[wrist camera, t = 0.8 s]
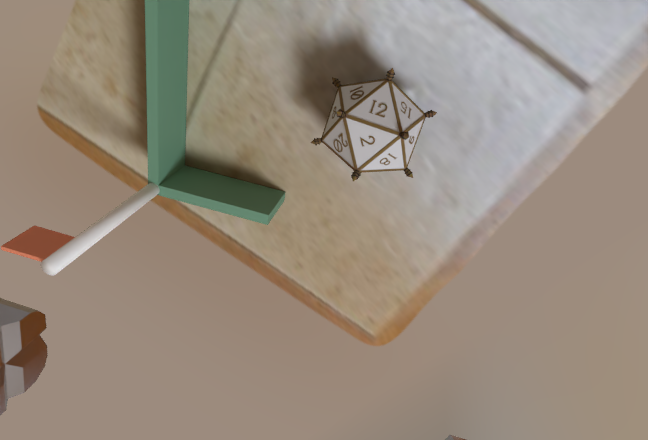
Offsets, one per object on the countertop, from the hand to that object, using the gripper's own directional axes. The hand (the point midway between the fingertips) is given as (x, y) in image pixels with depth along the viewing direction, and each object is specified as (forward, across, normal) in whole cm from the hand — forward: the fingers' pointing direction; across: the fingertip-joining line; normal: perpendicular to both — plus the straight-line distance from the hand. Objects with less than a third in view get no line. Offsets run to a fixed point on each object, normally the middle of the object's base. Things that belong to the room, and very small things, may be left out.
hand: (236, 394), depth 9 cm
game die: (+34, -1, 0) cm, 34 cm away
